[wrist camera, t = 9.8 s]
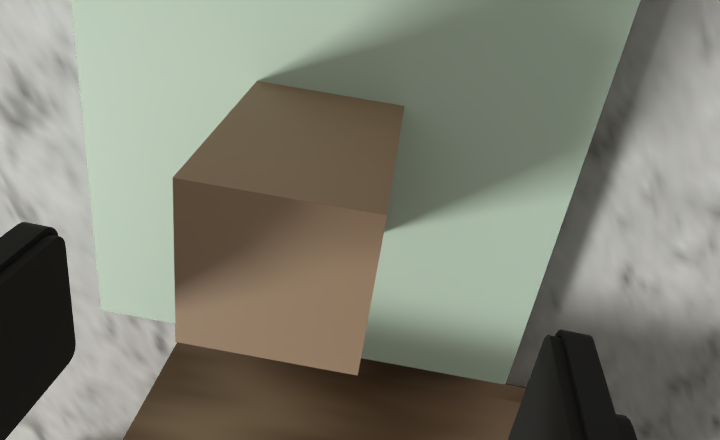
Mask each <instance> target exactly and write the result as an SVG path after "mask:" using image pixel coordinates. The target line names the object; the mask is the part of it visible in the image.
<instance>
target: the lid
mask: <svg viewBox="0 0 720 440" xmlns="http://www.w3.org/2000/svg"><path fill="white" fill-rule="evenodd" d="M640 1H641V0H71V7H72V17H73V27H74V38H75V48H76V58H77V69H78V79H79V90H80V100H81V110H82V121H83V131H84V141H85V152H86V162H87V172H88V183H89V193H90V204H91V214H92V224H93V235H94V245H95V255H96V266H97V276H98V287H99V297H100V307H101V310H103V311H109V312H114V313H119V314H125V315H130V316H136V317H141V318H146V319H152V320H157V321H163V322H168V323H174V324H175V331H176V342H179V343H184V344H190V345H195V346H200V347H206V348H211V349H217V350H222V351H227V352H233V353H238V354H244V355H249V356H254V357H260V358H265V359H271V360H276V361H281V362H287V363H292V364H297V365H303V366H308V367H314V368H319V369H324V370H330V371H335V372H341V373H346V374H351V375H357V376H358V371H359V366H360V360H361V358H363V359H369V360H374V361H380V362H385V363H390V364H396V365H401V366H407V367H412V368H418V369H423V370H428V371H434V372H439V373H445V374H450V375H456V376H461V377H466V378H472V379H477V380H483V381H488V382H493V383H499V384H504V385H506V382H507V379H508V376H509V373H510V370H511V368H512V365H513V362H514V359H515V356H516V353H517V351H518V348H519V345H520V342H521V339H522V336H523V333H524V331H525V328H526V325H527V322H528V319H529V316H530V314H531V311H532V308H533V305H534V302H535V299H536V297H537V294H538V291H539V288H540V285H541V282H542V279H543V277H544V274H545V271H546V268H547V265H548V262H549V260H550V257H551V254H552V251H553V248H554V245H555V242H556V240H557V237H558V234H559V231H560V228H561V225H562V223H563V220H564V217H565V214H566V211H567V208H568V205H569V203H570V200H571V197H572V194H573V191H574V188H575V186H576V183H577V180H578V177H579V174H580V171H581V168H582V166H583V163H584V160H585V157H586V154H587V151H588V149H589V146H590V143H591V140H592V137H593V134H594V131H595V129H596V126H597V123H598V120H599V117H600V114H601V112H602V109H603V106H604V103H605V100H606V97H607V94H608V92H609V89H610V86H611V83H612V80H613V77H614V75H615V72H616V69H617V66H618V63H619V60H620V57H621V55H622V52H623V49H624V46H625V43H626V40H627V38H628V35H629V32H630V29H631V26H632V23H633V20H634V18H635V15H636V12H637V9H638V6H639V3H640Z"/></svg>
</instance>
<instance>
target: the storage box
mask: <svg viewBox="0 0 720 440" xmlns="http://www.w3.org/2000/svg"><path fill="white" fill-rule="evenodd" d="M525 391H526V388H523V387H518V386H512V385H507V384H506V385H504V384H499V383H493V382H488V381H483V380H477V379H472V378H466V377H461V376H456V375H450V374H445V373H439V372H434V371H428V370H423V369H418V368H412V367H407V366H401V365H396V364H390V363H385V362H380V361H374V360H369V359H363V358H361V360H360V366H359V371H358V376H357V375H351V374H346V373H341V372H335V371H330V370H324V369H319V368H314V367H308V366H303V365H297V364H292V363H287V362H281V361H276V360H271V359H265V358H260V357H254V356H249V355H244V354H238V353H233V352H227V351H222V350H217V349H211V348H206V347H200V346H195V345H190V344H184V343H179V342H177V344H176V346H175V347H174V349H173V351H172V353H171V355H170V356H169V358H168V360H167V362H166V363H165V365H164V367H163V369H162V371H161V372H160V374H159V376H158V378H157V380H156V381H155V383H154V385H153V387H152V389H151V390H150V392H149V394H148V396H147V397H146V399H145V401H144V403H143V405H142V406H141V408H140V410H139V412H138V414H137V415H136V417H135V419H134V421H133V423H132V424H131V426H130V428H129V430H128V431H127V433H126V435H125V437H124V439H123V440H508V438H509V434H510V432H511V429H512V426H513V423H514V421H515V418H516V415H517V413H518V410H519V407H520V404H521V402H522V399H523V396H524V393H525Z"/></svg>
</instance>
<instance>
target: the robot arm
mask: <svg viewBox="0 0 720 440" xmlns="http://www.w3.org/2000/svg"><path fill="white" fill-rule="evenodd" d="M74 351H75V333H74V324H73V314H72V305H71V295H70V285H69V276H68V266H67V256H66V247H65V241H64V239H63V238H62V237H59V236H58V233H57V231H56V230H55V229H54V228H52V227H47V226H42V225H37V224H32V223H27V222H22V223H20V224H18V225H16V226H15V227H14V228H12V229H11V230H10V231H8V232H7V233H6V234H4V235H3V236H2V237H0V440H5V439H6V438H7V437H8V436H9V434H10V433H11V432H12V431H13V430H14V428H15V427H16V426H17V425H18V424H19V422H20V421H21V420H22V419H23V418H24V416H25V415H26V414H27V413H28V412H29V410H30V409H31V408H32V407H33V406H34V404H35V403H36V402H37V401H38V400H39V398H40V397H41V396H42V395H43V394H44V392H45V391H46V390H47V389H48V388H49V386H50V385H51V384H52V383H53V382H54V380H55V379H56V378H57V377H58V376H59V374H60V373H61V372H62V371H63V370H64V368H65V367H66V366H67V365H68V363H69V362H70V361H71V359H72V357H73V354H74ZM508 440H637V438H636V435H635V432H634V429H633V426H632V424H631V422H630V420H629V419H628V418H627V417H626V416H622V415H617V414H615V411H614V407H613V404H612V401H611V397H610V394H609V391H608V387H607V384H606V380H605V377H604V374H603V370H602V367H601V364H600V360H599V357H598V354H597V350H596V347H595V344H594V340H593V338H592V337H591V336H590V335H585V334H580V333H575V332H570V331H565V330H559V331H558V332H557V333H556V335H555V336H550V335H547V336H546V337H545V339H544V341H543V344H542V347H541V349H540V352H539V355H538V358H537V360H536V363H535V366H534V369H533V371H532V374H531V377H530V380H529V382H528V385H527V388H526V391H525V393H524V396H523V399H522V402H521V404H520V407H519V410H518V413H517V415H516V418H515V421H514V423H513V426H512V429H511V432H510V434H509V438H508Z"/></svg>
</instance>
